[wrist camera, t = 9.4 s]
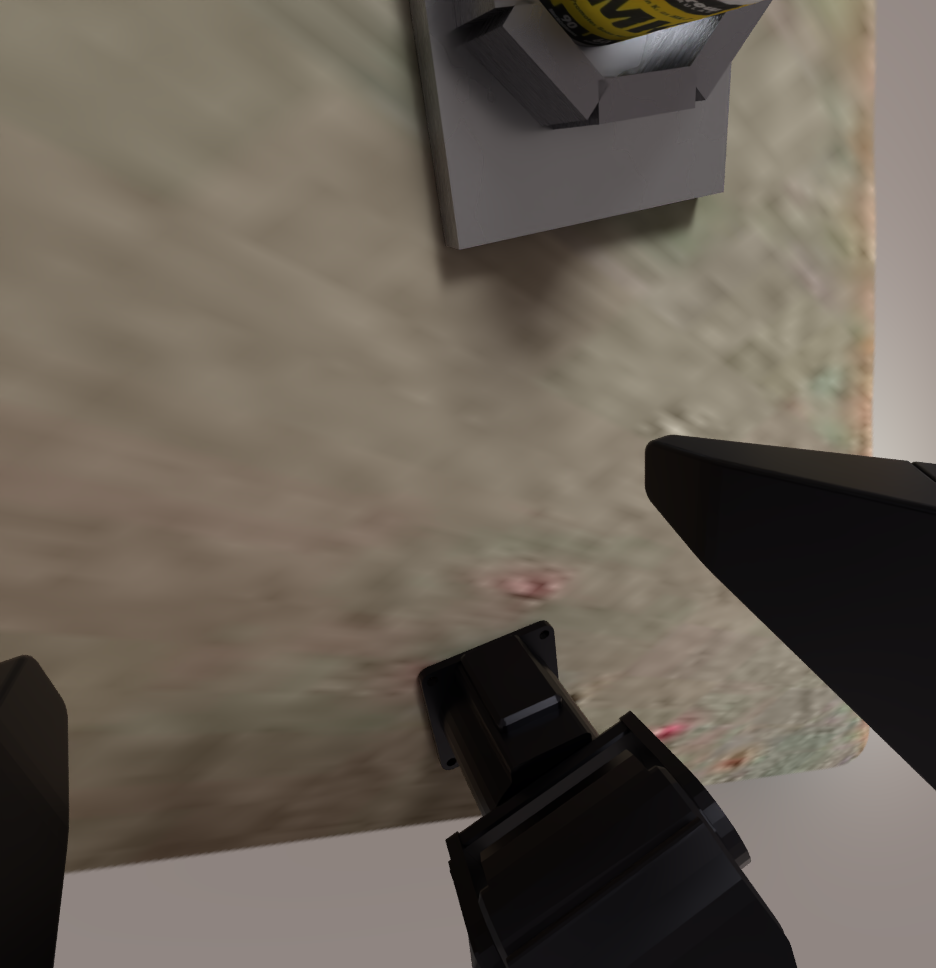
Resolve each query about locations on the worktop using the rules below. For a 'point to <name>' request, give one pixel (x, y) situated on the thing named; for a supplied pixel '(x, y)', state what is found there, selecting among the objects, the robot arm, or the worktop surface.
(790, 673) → the worktop surface
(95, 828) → the worktop surface
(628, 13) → the supplement bottle
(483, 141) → the socket plate
